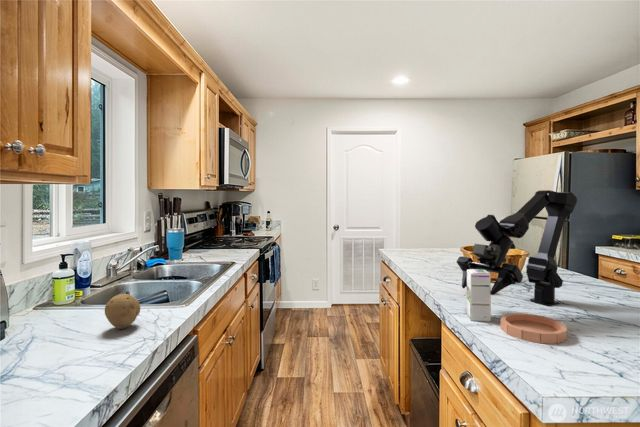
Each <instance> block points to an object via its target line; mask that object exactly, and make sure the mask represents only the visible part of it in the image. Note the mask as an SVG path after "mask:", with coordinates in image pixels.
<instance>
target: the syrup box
mask: <svg viewBox="0 0 640 427" xmlns="http://www.w3.org/2000/svg"><path fill="white" fill-rule="evenodd" d="M491 283H492V282H491V272H487V271H486V270H482V269H467V287H466V314H467V316H468V318H469V319H470V321H473V322H474V321H475V322H489V323H490V322H491V319H492V313H491V312H492V308H491V307H492V306H491V305H492V303H491V302H492V295H491V293H490V292H491V290H492V285H491Z"/></svg>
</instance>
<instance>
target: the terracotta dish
mask: <svg viewBox="0 0 640 427" xmlns="http://www.w3.org/2000/svg"><path fill="white" fill-rule="evenodd" d="M500 329H501V331H503V332H504V333H505V334H506V335H509V336H511V337H513V338H517V339H519V340H522V341H526V342H532V343H537V344H551V345H552V344H561V343H564V342H566V341H567V334H568V331H567V330H568V329H567V325H565V324H564V323H562V322H561V321H558V320H556V319H553V318H550V317H546V316H545V315H540V314H539V315H538V314H534V313H533V314H532V313H525V312H524V313H522V312H521V313H520V312H511V313H507V314H503V315H501V318H500ZM563 341H564V342H563ZM560 342H561V343H560Z"/></svg>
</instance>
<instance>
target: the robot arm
mask: <svg viewBox="0 0 640 427" xmlns="http://www.w3.org/2000/svg"><path fill="white" fill-rule="evenodd" d="M577 198H578V197H577V196H576V195H575V194H574V193H573V192H572V191H571V192H569V191H568V192H567V191H564V192H562V191H561V192H560V191H559V192H558V191H554V190H550V189H548V190H547V189H545V190H542V189H541V190H538V191H535V193H534V194H533V196H532V197H531V198H530V199H529V200H528V201H527V202H526V203H525V204H524V205H523V206H522V207H520V209H519V210H517V211H516V212H515V213H513V214H510V215H507V216H506V217H504V218H503V219H501V220H500V221H498V220H497V218H496V216H495V215H494V214H487V216H484V217H482V218H480V219H479V220H477V221H476V222H475V225H474V227H475V229H476V230H477V232H478V233H479V234H480V235H481V237H482V238H483V239H484V240H485V241H486V242H489V244H488V245H487V244H479V243H474V246H473V250H472V255H475V256H476V260H477V261H478V262H475V261H474V260H473V259H472V257H468V256H462V255H461V256H459V257H458V258H457V260H456V264H457V265H458V266H459V268H460V270H461V272H462V278H461V279H462V280H461V287H462V288H463V289H465V288H467V287H466V286H467V269H482V270H486V271H487V272H489V273H493V274H497V277H496V280H495V282H494V284H493V286H491V292H490V293H491V296H494V295H495V294H498V292H500V291H502V290H503V289H505V288H508V287H510V285H516V283H517V284H521V283H522V280H523V279H524V275H523V273H522V271H521V270H520V267H519V266H518V265H517V264H513V263H507V258H506V256H507V254H508V253H509V251H510V250H516V245H515V243H514V240H512V239H511V238H513V239H521V238H523V237H524V236H525V235H526V234H527V232H528V231H529V229H530V222H532V221H533V219H535V218H536V216H538V215H539V213H541V211H543V209H544V208H545V210H546V212H547V218H546V222H545V226H544V229H543V233H542V236H541V240H540V243H539V247H538V251H537V252H536V254H535V255H534V256H529V257H528V259H527V263H526V266H525V268H526V272H525V273H526V275H527V280H528V282H529V283H532V284H534V290H533V294H534V295H533V296H534V297H533V298H530V299H529V301H530V302H533V303H537V304H541V305H543V306H547V307H548V306H553V305H557V304H560V301H558V300H556V299H555V298H556V289H560V288H561V287H562V286H563V283H564V280H563V279H562V278H561V276H560V275H559V274H558V265H557V262H556V260H555V256H556V252H557V250H558V246H559V242H560V240H561V239H560V238H561V235H562V231H563V227H564V224H565V220H566V218H568V217H569V216H570V215H571V214H572V213H573V212H574V210H575V207H576V205H577V203H578V199H577Z"/></svg>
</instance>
